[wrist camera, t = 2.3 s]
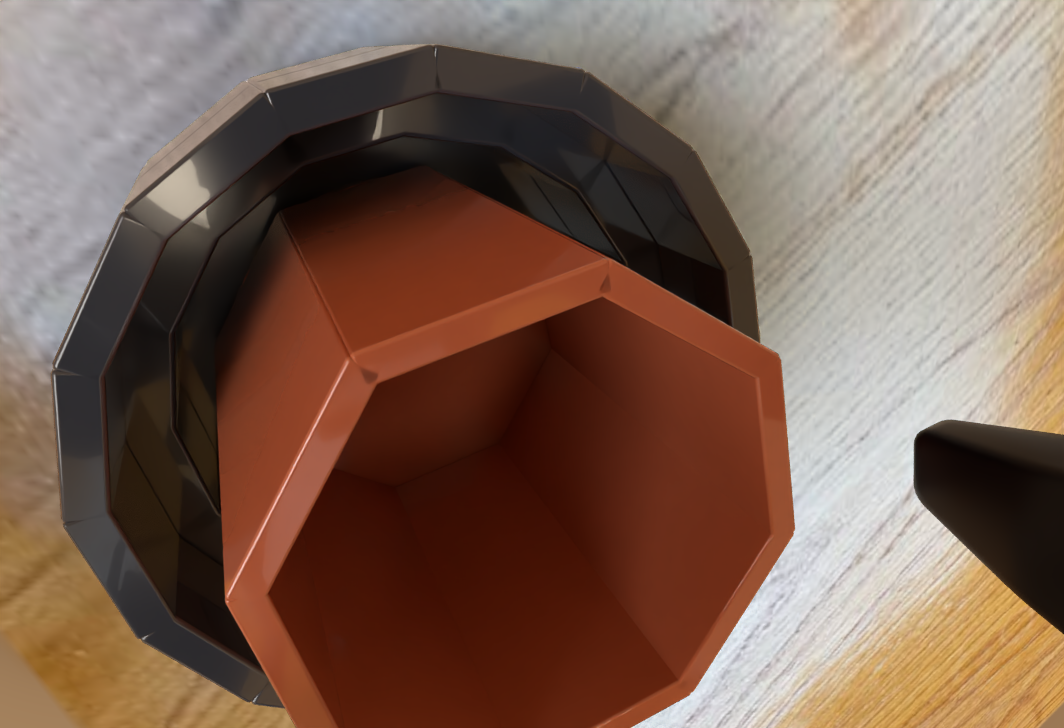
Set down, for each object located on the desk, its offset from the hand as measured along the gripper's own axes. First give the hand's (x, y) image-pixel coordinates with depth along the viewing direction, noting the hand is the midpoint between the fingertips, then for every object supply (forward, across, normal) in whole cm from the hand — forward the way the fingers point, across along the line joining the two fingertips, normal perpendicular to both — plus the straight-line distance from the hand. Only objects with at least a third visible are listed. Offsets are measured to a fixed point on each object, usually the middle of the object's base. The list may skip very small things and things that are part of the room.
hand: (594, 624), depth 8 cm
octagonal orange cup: (+9, 0, 0) cm, 9 cm away
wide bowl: (+10, 0, 0) cm, 10 cm away
